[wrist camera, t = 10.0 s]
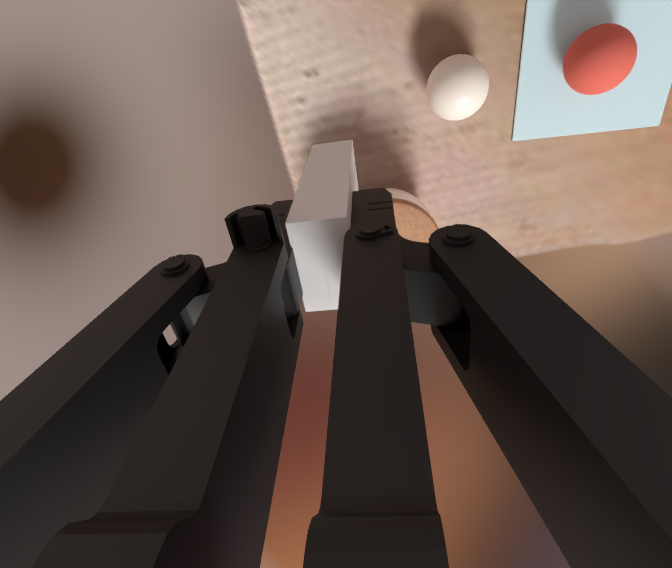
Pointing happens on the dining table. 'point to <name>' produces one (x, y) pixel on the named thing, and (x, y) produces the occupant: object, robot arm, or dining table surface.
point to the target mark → (601, 109)
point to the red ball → (599, 59)
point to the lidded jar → (411, 216)
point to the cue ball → (457, 87)
